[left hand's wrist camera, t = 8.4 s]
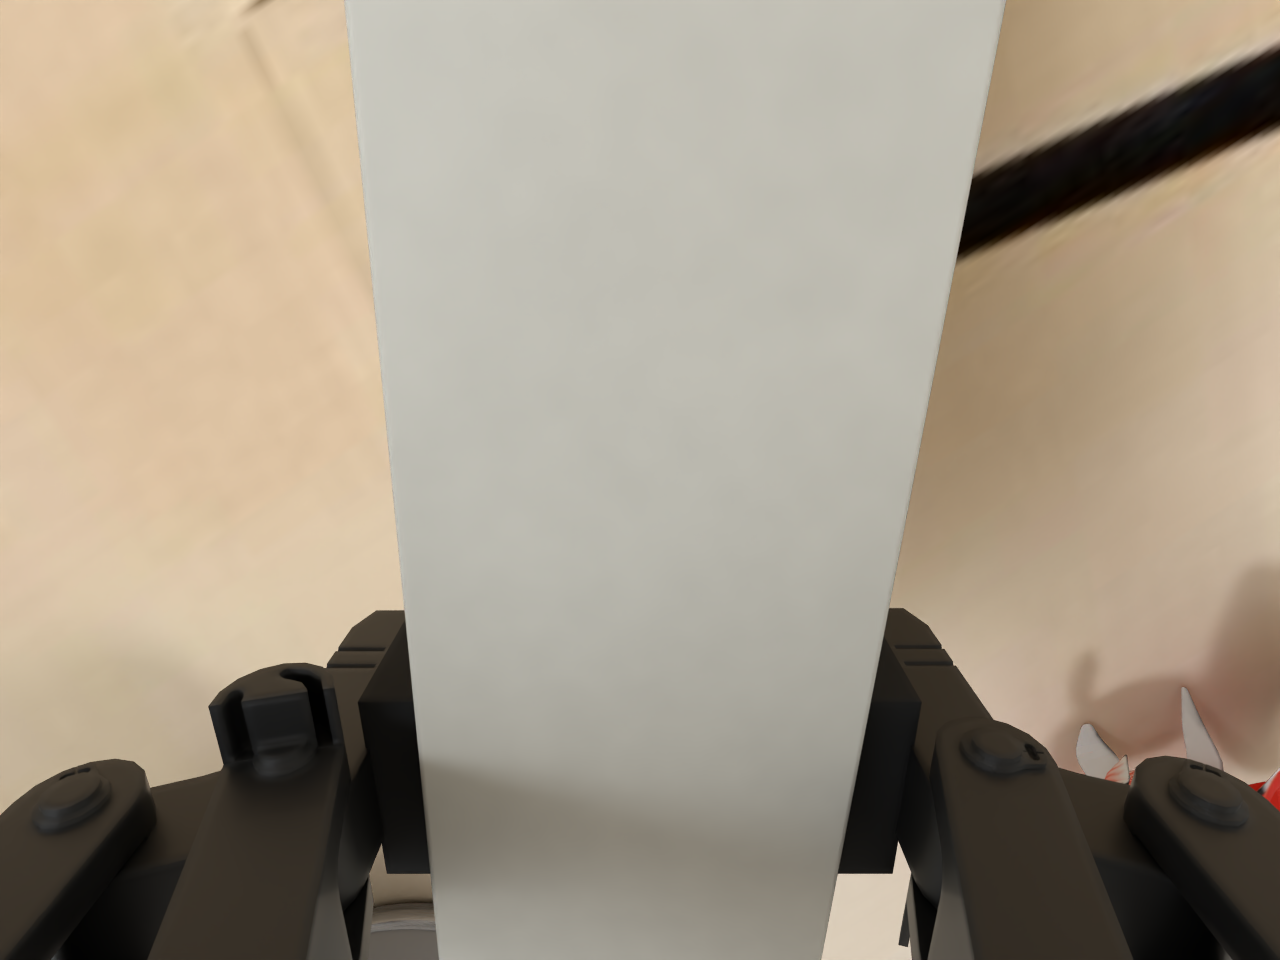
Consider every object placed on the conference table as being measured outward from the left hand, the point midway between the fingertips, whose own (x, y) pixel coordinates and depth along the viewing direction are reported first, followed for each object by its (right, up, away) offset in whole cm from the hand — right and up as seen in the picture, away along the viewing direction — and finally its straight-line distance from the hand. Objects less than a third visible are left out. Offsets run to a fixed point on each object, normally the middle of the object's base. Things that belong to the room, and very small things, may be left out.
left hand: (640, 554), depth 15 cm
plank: (+1, +26, -9) cm, 28 cm away
